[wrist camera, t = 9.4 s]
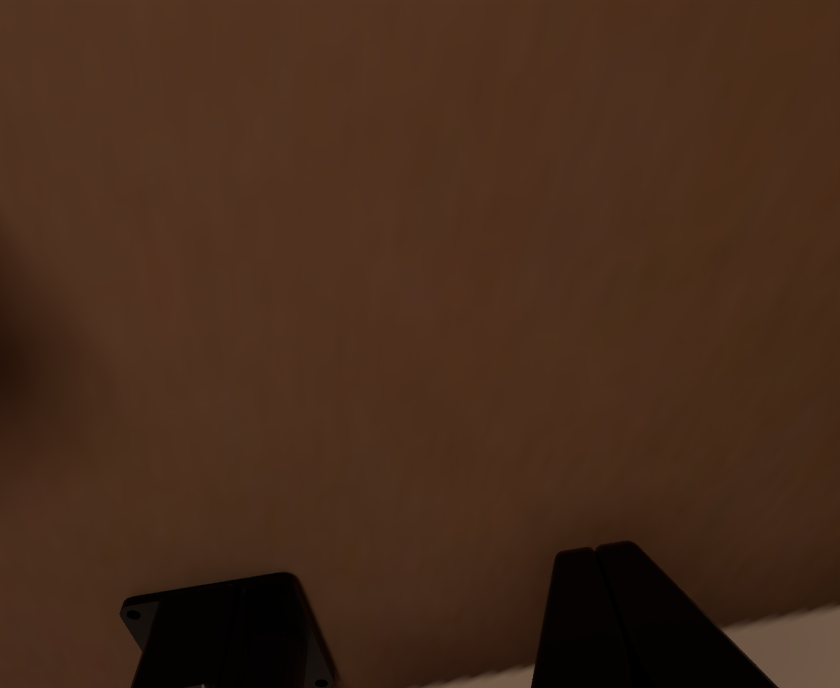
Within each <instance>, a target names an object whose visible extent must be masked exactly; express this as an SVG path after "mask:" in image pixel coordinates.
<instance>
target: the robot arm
mask: <svg viewBox="0 0 840 688" xmlns="http://www.w3.org/2000/svg"><path fill="white" fill-rule="evenodd" d="M279 586H283V587H279ZM120 617H121V618H122V620H123V622H124V623H125V625H126V626H127V628H128V630H129V631H130V633H131V634H132V636H133V637H134V639H135V641H136V642H137V644H138V645H139V647H140V649H141V650H142V655H141V658H140V661H139V664H138V667H137V670H136V673H135V676H134V679H133V682H132V685H131V688H332V687H333V685H334V678H335V673H334V670H333V668H332V665H331V663H330V661H329V658H328V656H327V654H326V651H325V649H324V646H323V644H322V642H321V639H320V637H319V635H318V632H317V630H316V628H315V625H314V623H313V620H312V618H311V616H310V613H309V611H308V609H307V606H306V604H305V601H304V599H303V597H302V594H301V592H300V590H299V587H298V585H297V582H296V580H295V579H294V577H293V576H291V575H289V574H286V573H274V574H268V575H262V576H256V577H250V578H244V579H238V580H232V581H226V582H220V583H213V584H207V585H201V586H195V587H189V588H183V589H177V590H171V591H165V592H159V593H153V594H147V595H140V596H134V597H130V598H127V599H126V600H125V601H124V603H123V605H122V608H121V610H120ZM531 688H778V687H777V686H776V685H775V684H774V683H773V682H772V681H771V680H770V679H769V678H768V677H767V676H766V675H765V674H764V673H763V672H762V671H761V670H760V669H759V668H758V666H756V664H755V663H754V662H752V660H751V659H749V657H748V656H747V655H745V653H743V651H742V650H741V649H740V648H739V647H738V646H737V645H736V644H735V643H734V642H733V641H732V640H731V639H730V638H729V637H728V636H727V635H726V634H725V633H724V632H723V631H722V630H721V629H720V628H719V627H718V626H717V625H716V624H715V623H714V622H713V621H712V620H711V619H710V618H709V617H708V616H707V615H706V614H705V613H704V612H703V611H702V610H701V609H700V608H699V607H698V606H697V605H696V604H695V603H694V602H693V601H692V600H691V599H690V598H689V597H688V596H687V595H686V594H685V593H684V592H683V591H682V590H681V589H680V588H679V587H678V586H677V585H676V584H675V583H674V582H673V581H672V580H671V579H670V578H669V577H668V576H667V574H666V573H665V572H664V571H663V570H662V569H661V568H660V567H659V566H658V565H657V564H656V563H655V562H654V561H653V560H652V559H651V558H650V557H649V556H648V555H647V554H646V553H645V552H644V551H643V550H642V549H641V548H640V547H639V546H638V545H636V544H635V543H634V542H631V541H621V542H615V543H609V544H602V545H599V546H598V547H597V548H596V550H595V551H594V550H593V549H592V548H590V547H584V548H577V549H571V550H565V551H560V552H559V553H557V555H556V557H555V560H554V565H553V571H552V576H551V582H550V587H549V593H548V598H547V603H546V609H545V614H544V620H543V625H542V631H541V636H540V641H539V647H538V652H537V658H536V663H535V669H534V674H533V679H532V685H531Z"/></svg>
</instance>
